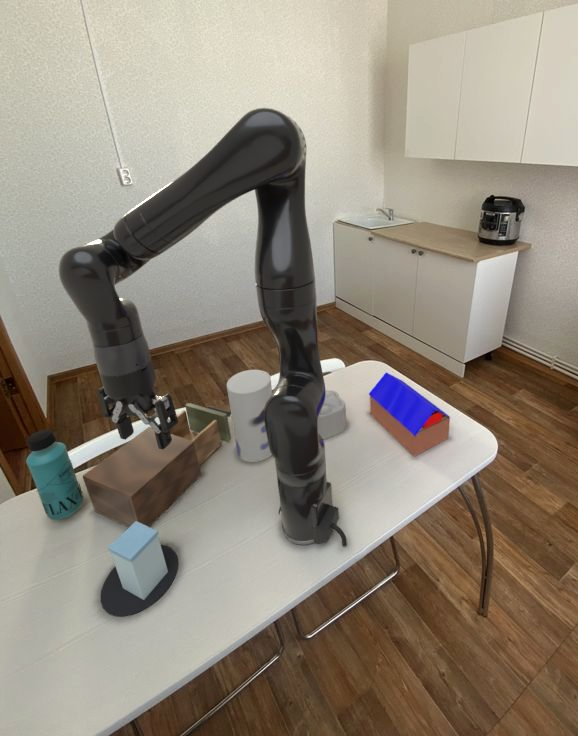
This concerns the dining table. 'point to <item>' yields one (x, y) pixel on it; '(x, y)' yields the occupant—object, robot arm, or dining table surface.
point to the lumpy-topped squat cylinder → (332, 416)
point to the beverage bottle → (53, 475)
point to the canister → (139, 559)
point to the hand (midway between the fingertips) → (146, 441)
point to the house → (408, 415)
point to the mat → (127, 603)
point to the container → (250, 413)
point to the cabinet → (142, 479)
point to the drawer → (203, 428)
